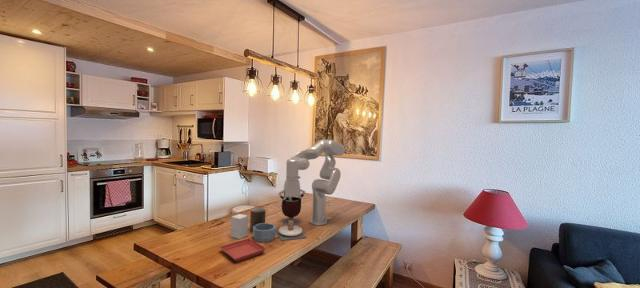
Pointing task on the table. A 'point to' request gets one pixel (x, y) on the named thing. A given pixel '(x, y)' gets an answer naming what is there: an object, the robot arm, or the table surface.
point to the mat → (284, 238)
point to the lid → (290, 229)
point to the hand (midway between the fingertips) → (291, 205)
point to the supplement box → (239, 226)
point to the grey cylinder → (257, 217)
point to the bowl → (264, 232)
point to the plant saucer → (242, 249)
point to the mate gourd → (291, 209)
